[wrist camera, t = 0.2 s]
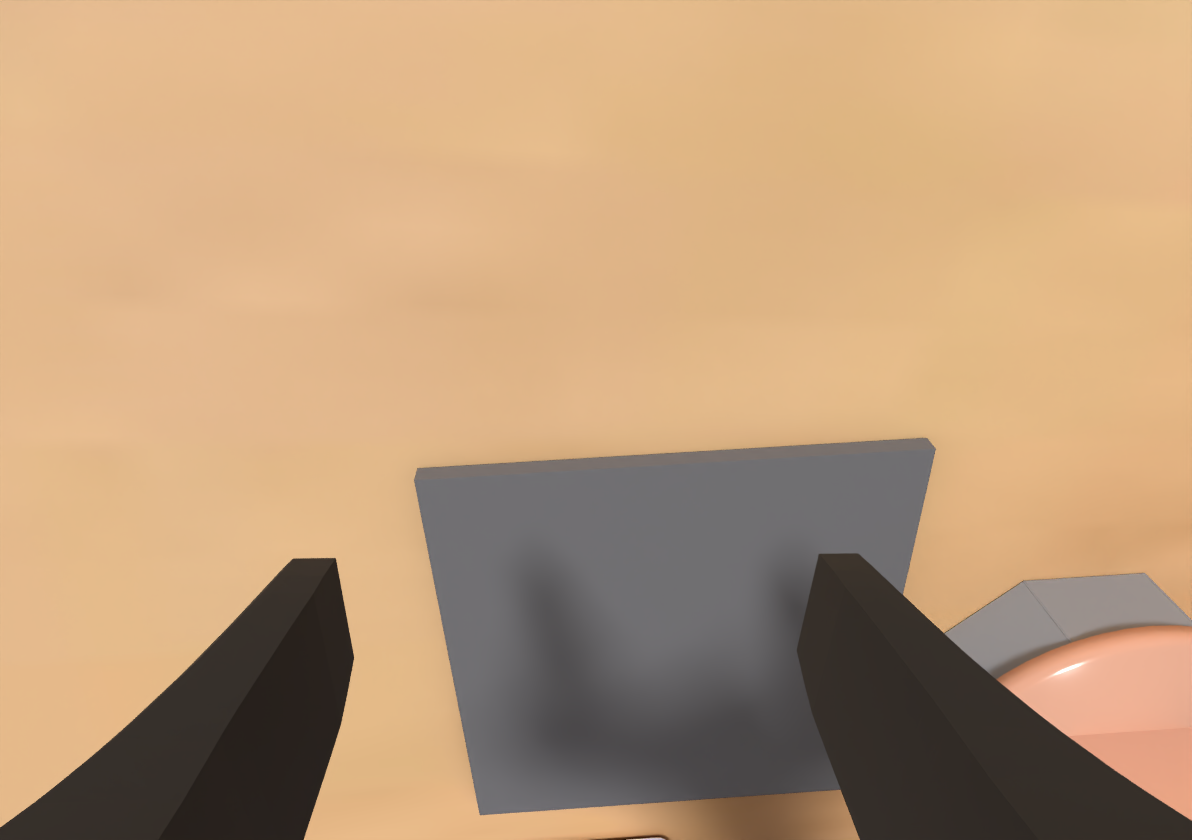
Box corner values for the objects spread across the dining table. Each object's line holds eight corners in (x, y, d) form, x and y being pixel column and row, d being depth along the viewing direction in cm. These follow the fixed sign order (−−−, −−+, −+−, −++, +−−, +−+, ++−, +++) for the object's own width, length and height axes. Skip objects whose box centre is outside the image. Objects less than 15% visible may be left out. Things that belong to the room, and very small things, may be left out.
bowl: (1133, 755, 31) (1187, 826, 28) (889, 772, 31) (921, 845, 28) (1229, 567, 26) (1305, 633, 23) (937, 586, 25) (981, 655, 23)
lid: (1200, 837, 29) (1296, 965, 25) (897, 859, 28) (948, 992, 25) (1342, 613, 23) (1496, 737, 19) (961, 638, 22) (1042, 769, 19)
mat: (853, 774, 30) (858, 788, 30) (481, 800, 30) (479, 815, 30) (926, 437, 22) (935, 448, 22) (417, 468, 22) (413, 480, 21)
